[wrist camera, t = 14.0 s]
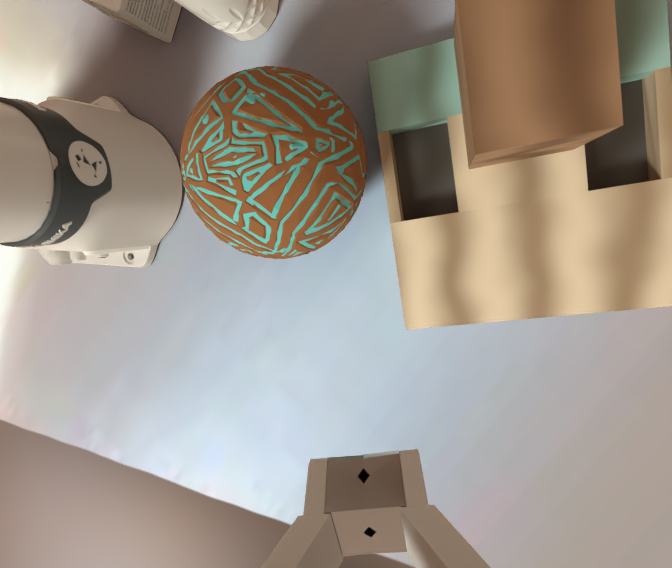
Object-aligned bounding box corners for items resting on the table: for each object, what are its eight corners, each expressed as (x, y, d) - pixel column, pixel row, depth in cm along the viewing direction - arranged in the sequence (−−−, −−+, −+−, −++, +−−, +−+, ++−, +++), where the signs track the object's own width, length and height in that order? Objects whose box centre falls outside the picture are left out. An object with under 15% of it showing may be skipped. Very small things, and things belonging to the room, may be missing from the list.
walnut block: (468, 169, 35) (475, 154, 26) (453, 45, 34) (455, -19, 25) (573, 149, 33) (623, 124, 24) (562, 16, 32) (609, -67, 22)
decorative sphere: (367, 78, 39) (319, 0, 24) (390, 238, 41) (358, 253, 26) (225, 116, 43) (114, 68, 29) (253, 259, 45) (160, 282, 30)
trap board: (408, 322, 41) (405, 329, 39) (372, 71, 38) (367, 61, 36) (668, 298, 35) (684, 304, 33) (650, -4, 32) (666, -22, 30)
